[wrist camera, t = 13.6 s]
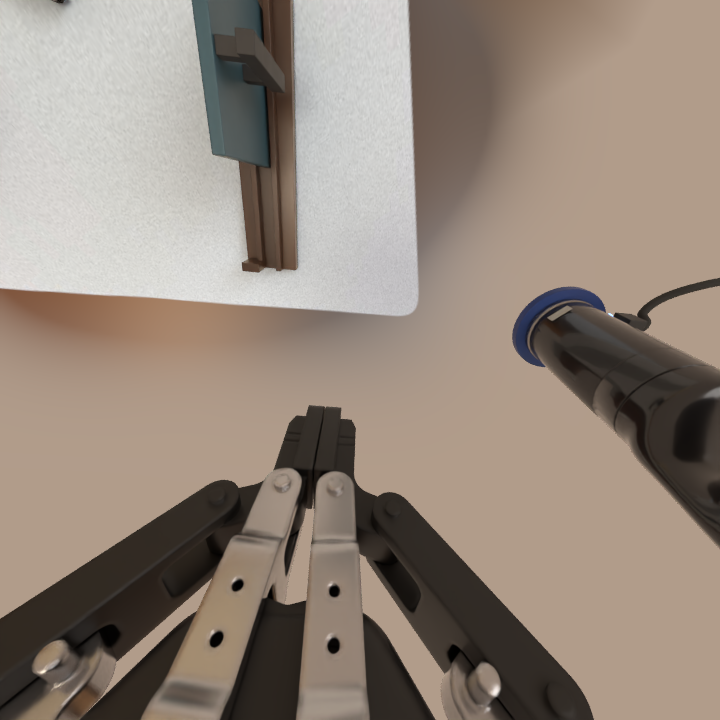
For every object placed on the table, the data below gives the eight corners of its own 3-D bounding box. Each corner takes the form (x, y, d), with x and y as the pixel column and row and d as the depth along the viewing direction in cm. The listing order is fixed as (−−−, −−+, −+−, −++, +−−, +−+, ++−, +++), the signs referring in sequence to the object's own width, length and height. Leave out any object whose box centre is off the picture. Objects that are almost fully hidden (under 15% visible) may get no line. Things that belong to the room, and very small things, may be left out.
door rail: (293, 0, 27) (282, -29, 23) (297, 268, 39) (291, 275, 35) (226, -9, 26) (205, -39, 23) (251, 263, 38) (240, 270, 35)
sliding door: (294, 11, 26) (244, -120, 15) (297, 170, 32) (262, 159, 21) (250, 6, 26) (167, -131, 15) (261, 167, 32) (207, 153, 21)
